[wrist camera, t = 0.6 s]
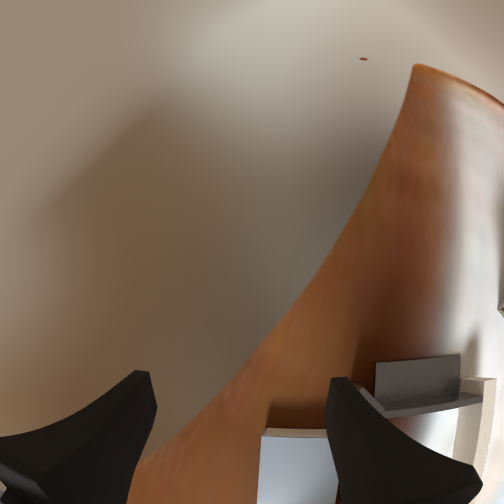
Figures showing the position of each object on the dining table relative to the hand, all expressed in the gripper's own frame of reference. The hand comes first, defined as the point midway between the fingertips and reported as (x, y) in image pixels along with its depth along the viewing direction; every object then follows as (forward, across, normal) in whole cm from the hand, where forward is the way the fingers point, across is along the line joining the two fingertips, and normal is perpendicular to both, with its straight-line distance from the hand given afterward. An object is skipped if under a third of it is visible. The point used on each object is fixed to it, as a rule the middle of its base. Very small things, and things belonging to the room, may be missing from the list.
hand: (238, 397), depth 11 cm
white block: (+13, -6, +26) cm, 29 cm away
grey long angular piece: (+18, -19, +15) cm, 30 cm away
